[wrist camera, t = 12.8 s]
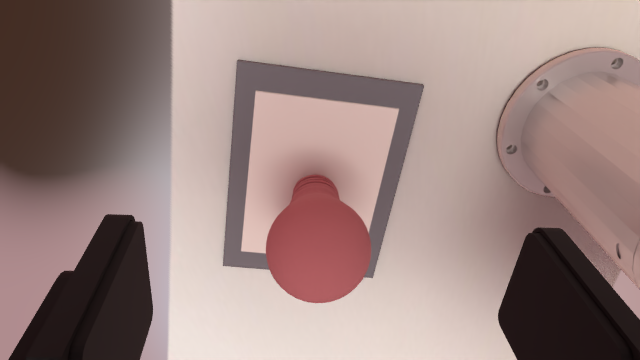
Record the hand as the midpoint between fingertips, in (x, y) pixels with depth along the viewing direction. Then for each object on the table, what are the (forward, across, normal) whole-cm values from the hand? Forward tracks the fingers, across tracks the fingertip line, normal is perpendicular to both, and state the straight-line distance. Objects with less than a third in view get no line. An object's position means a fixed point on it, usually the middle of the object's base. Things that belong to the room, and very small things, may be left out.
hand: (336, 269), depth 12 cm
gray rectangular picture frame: (+26, -2, +13) cm, 29 cm away
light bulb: (+26, -2, +13) cm, 28 cm away
